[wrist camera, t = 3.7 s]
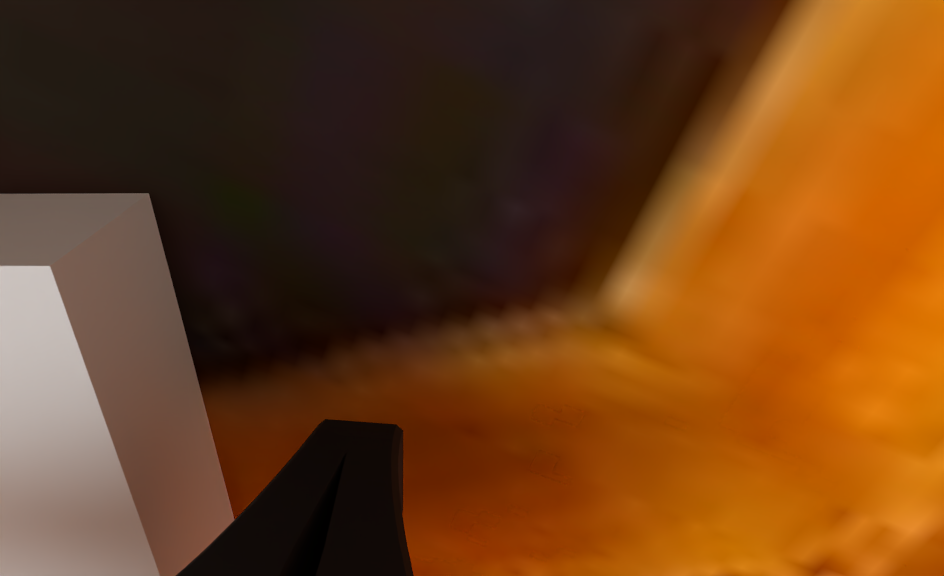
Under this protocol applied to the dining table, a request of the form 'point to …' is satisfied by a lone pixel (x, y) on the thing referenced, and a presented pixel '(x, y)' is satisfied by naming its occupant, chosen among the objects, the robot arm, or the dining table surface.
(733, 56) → the dining table surface
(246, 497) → the dining table surface
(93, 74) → the dining table surface
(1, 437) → the pale grey box
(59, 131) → the dining table surface
